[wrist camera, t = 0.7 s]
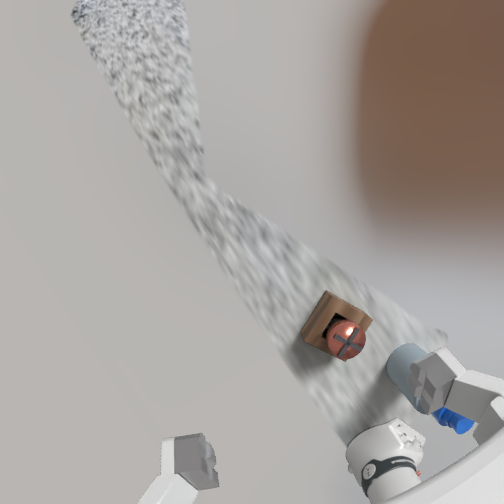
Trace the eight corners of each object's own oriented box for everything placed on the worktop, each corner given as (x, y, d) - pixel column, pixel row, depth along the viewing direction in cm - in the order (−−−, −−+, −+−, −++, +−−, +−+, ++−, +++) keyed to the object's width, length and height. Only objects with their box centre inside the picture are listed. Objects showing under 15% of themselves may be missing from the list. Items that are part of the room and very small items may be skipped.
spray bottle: (429, 354, 56) (495, 409, 31) (404, 386, 56) (458, 452, 31) (404, 336, 55) (472, 392, 30) (378, 370, 56) (432, 441, 31)
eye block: (364, 311, 55) (373, 319, 50) (338, 351, 56) (345, 361, 51) (325, 290, 55) (332, 296, 50) (300, 331, 55) (304, 341, 50)
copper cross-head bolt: (353, 315, 55) (373, 334, 44) (336, 341, 56) (352, 365, 45) (328, 301, 55) (343, 318, 44) (311, 328, 55) (322, 351, 44)
